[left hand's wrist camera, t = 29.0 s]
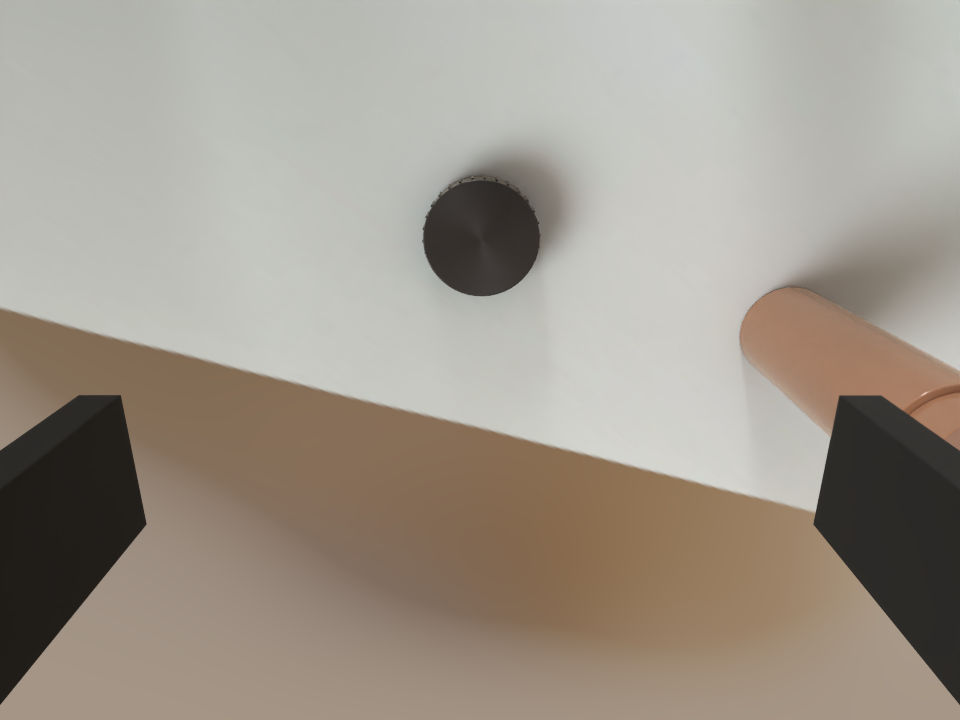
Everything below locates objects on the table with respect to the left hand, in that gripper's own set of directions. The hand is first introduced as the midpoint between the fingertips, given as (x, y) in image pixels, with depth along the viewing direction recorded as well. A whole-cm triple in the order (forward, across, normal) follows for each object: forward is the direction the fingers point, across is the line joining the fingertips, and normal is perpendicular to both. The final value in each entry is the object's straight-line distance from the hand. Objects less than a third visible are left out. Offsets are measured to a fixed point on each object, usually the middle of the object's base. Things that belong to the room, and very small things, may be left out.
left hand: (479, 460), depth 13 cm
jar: (+27, +18, -6) cm, 33 cm away
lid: (+25, 0, 0) cm, 25 cm away
